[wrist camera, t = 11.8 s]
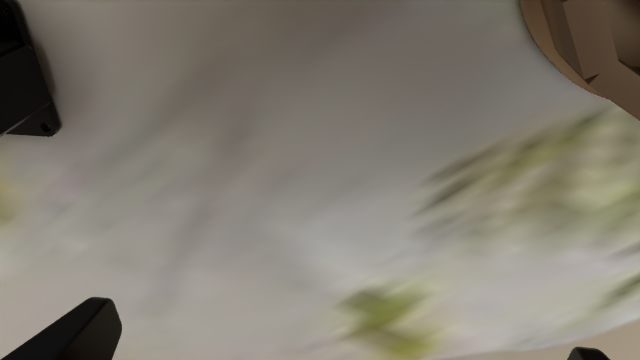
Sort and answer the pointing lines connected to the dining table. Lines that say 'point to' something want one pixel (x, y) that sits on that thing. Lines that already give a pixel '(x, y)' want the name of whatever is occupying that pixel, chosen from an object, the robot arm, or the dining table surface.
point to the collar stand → (591, 44)
